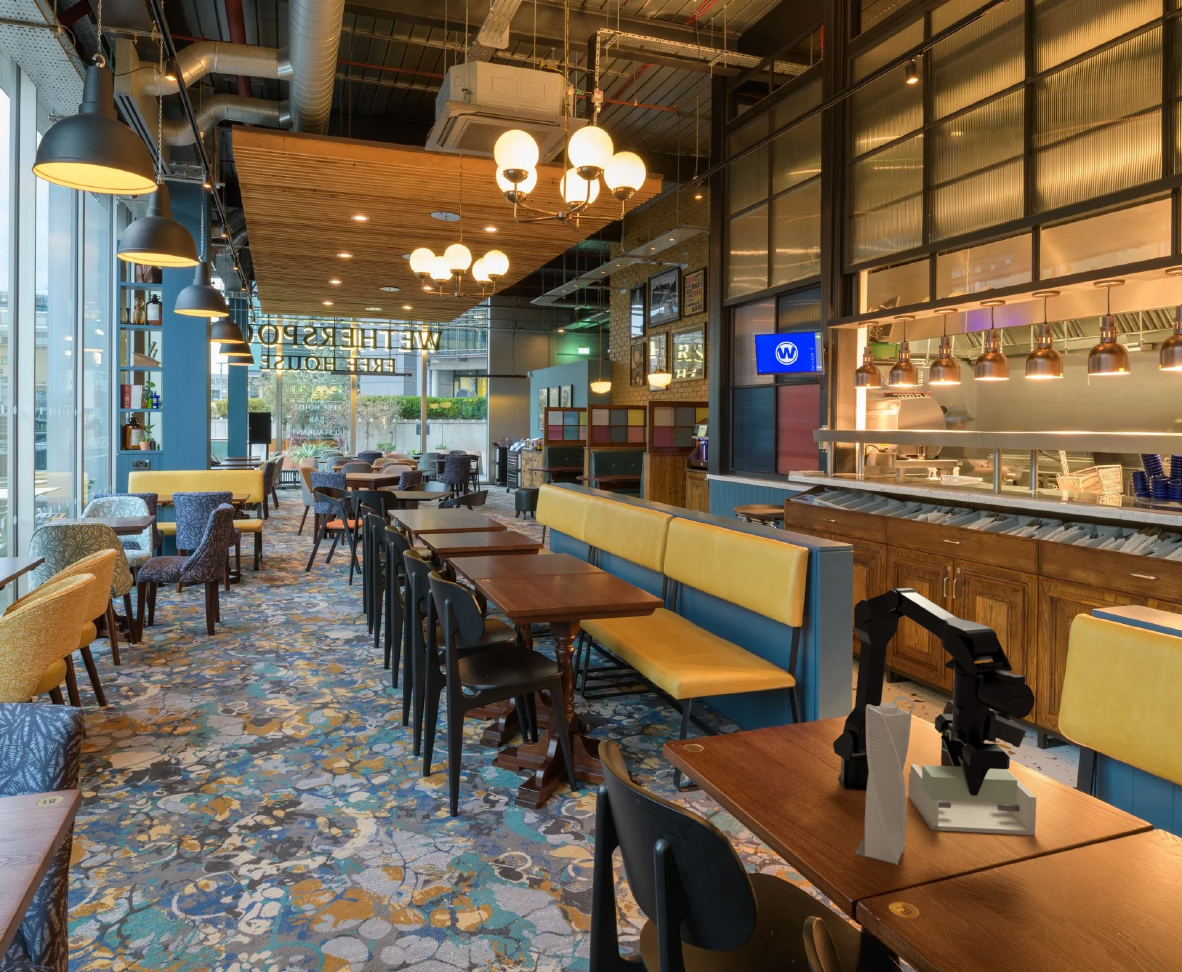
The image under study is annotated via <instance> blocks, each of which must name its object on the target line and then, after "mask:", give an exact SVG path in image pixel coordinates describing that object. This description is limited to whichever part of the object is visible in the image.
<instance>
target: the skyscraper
mask: <svg viewBox="0 0 1182 972" xmlns="http://www.w3.org/2000/svg"><path fill="white" fill-rule="evenodd" d="M900 700H904V701H907V702H910V704H911V706H910V709H909V712H908V711H906V710H903V709H901V708H899V707H898V704H896V703H897V701H900ZM914 706H915V703H914V701H913V700H912V699H911V698H908V697H907V696H904V695H903V696H902V695H899V696H897V697H895V699H894V700H893V702H892V703H891V702H881V704H880V706H873V705H870V704H867V706H866V748H867V761H868V768H869V775H868V782H867V790H866V792H865V801H864V802H865V810H864V813H865V814H864V819H863V826H864V827H863V829H864V833H863V839H862V840H861V842H860V845H859V846H858V848H857V850H856V851H855V855H856V856H862V857H864V858H868V859H871V860H872V859H873V860H875V861H881V862H884V863H888V864H891V865H895V866H898V865H900V862H901V859H902V858H903V855H904V852H905V849H906V846H905V841H906V829H907V795H906V794H907V793H906V784H905V778H904V777H905V776H904V768H905V764H906V762H907V756H908V751H909V750H908V749H909V744H910V736H911V725H912V714H913V710H914V708H915V707H914Z"/></svg>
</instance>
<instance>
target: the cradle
mask: <svg viewBox="0 0 1182 972" xmlns="http://www.w3.org/2000/svg"><path fill="white" fill-rule="evenodd" d="M1006 770H1007V771H1008V772H1009V773H1010V774H1011V775H1012V776H1013V777H1014V778H1015V779H1016V780H1017V802H1016V804H1014V803H993V802H971V801H949V800H931V799H930V797H929V796H928V795H927V793H926V792H925V791H924V790H923V788H922V769H921V768H920V766H919V765H918V763H916V764H915V763H911V764H910V771H909V772H908V795H907V796H908V798H909V800H910V799H911V800H910V801H911V802H912V804H913V805H914V807H915V808H916V810H917V811H918V813H919V814H920V816H921V817H922V818H923V821H925V823H926V825H927V826H928V828H929V829H930V830H931V831H944V832H945V831H947V832H948V831H949V832H965V833H967V832H968V833H983V834H984V833H986V834H1006V835H1022V836H1023V835H1027V836H1036V820H1037V817H1036V816H1037V796H1035V795H1034V794H1033V793H1032V792H1031V791H1030V790H1029V789H1028V787H1026V786H1025V785H1024V784H1023V783H1022V781H1020V780H1019V779H1018V778H1017V777H1016V776H1015V775H1014V774H1012V772H1011V771H1009V769H1006Z"/></svg>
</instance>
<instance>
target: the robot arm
mask: <svg viewBox="0 0 1182 972" xmlns="http://www.w3.org/2000/svg"><path fill="white" fill-rule="evenodd" d="M903 617H907V618H908V619H909V620H911V621H913V622H914V623H915V624H917V625H919V626H921V627H922V628H924V630H926V631H927V632H929V633H931V634H932V635H934V636H936V638H938V639H939V640H940V643H941V645H942V648H943V649H944V650H945V651H946V652H947V653H948V654H949V655H950V656H951V657H952V658H951V659H950V660H949V661H947V662H945V663H944V667H945V668H947V669H950V670H952V671H954V673H953V686H954V694H953V701H951V700H950V699H949V700H948V701H949V706H950V707H951V708H952V709H953V714H943V713H939V714H938V715H937V716H936V717H935V719H934V730H936V731H937V732H938V733H939V734H942V733H943V732H944V729H946V736H942V735H941V736H940V738H941V742H942V741H943V743H944V745H945V748H946V750H947V753H948V755H949V757H950V760H951V762H952V765H953V766H956V767H962V770H963V774H964V777H965V780H966V783H967V787H968V790H969V793H970V795H972V796H977V795H978V793H979V790H980V788H981V785H982V783H983V781H984V778H985V776H986V774H987V772H988V770H989V769H1007V770H1009V769H1010V763H1011V762H1010V761H1011V759H1010V756H1009V755H1008V754H1007V753H1006V752H1005V750H1003V749H1002V748H1001V747H1000V746H999V745H998V744H997V743H992V742H997V739H998V740H1001V741H1003V742H1006V743H1008V744H1011V745H1012V746H1013V747H1016V748H1020V746H1021V745H1022V742H1023V739H1024V738H1025V736H1026V732H1027V730H1026V729H1025V728H1024V727H1023V726H1021V725H1020V724H1019V723H1018V722H1016V721H1014V720H1013V719H1016V720H1022V719H1025V718H1026V717H1027V716H1029V715H1030V714H1031V712H1032V711H1033V709H1034V705H1035V695H1034V693H1033V690H1032V688H1031V687H1030V686H1029V685H1027V684H1026V677H1025V676H1024V675H1021V674H1014V673H1012V671H1013V668H1012V665H1011V664H1010V662H1009V659H1008V657H1007V656H1006V652H1005V651H1004V648H1003V646H1002V645H1001V642H1000V640H999V639H998V635H997V632H996V631H995V630H994V629H993V628H991V627H989V626H986V625H984V624H982V623H979V622H976V621H971V620H966V619H962V618H959V617H957V616H955V615H954V614H951V613H950V612H948V611H947V610H945V609H944V608H942V607H940V606H939V605H937V604H935V603H934V602H932V601H931V600H929V599H928V598H926V597H924V596H922V595H921V594H919V592H918V591H917V590H916V589H914V588H911V587H898V588H892V589H890V590H888V591H886V592H884V593H882V594H880V595H877V596H874V597H872V598H868V599H861V600H859V601H858V602H856V603H855V606H854V610H853V621H854V622H853V623H854V624H853V627H854V629H855V632H856V633H857V635H858V637H859V638H860V650H859V659H858V660H859V661H858V670H857V682H856V691H855V702H854V707H853V709H852V711H851V712H850V713H849V714H848V716H847V718H846V719H845V722H844V726H843V730H842V734H840V736H838V737H837V738H836V739H835V740H834V741H833V743H832V747H833V752H834V754H836V756H839V757H840V774H838V779H839V780H840V783H841V785H842V786H843V788H844V789H846V790H858V791H861V790H862V791H867V782H868V775H869V768H868V761H867V748H866V706H867V704H870V705H873V706H880V704H881V703H882V699H883V689H884V679H885V668H886V659H887V651H888V650H887V649H888V644H889V642H890V641H892V638H893V637H894V636H895V635H896V633H897V631H898V626H899V624H900V623H899V622H900V619H902V618H903ZM983 661H984V662H983ZM977 662H978V663H977ZM1010 718H1012V719H1010ZM986 741H987V742H986ZM988 742H991V743H988Z"/></svg>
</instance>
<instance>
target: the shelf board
mask: <svg viewBox="0 0 1182 972" xmlns="http://www.w3.org/2000/svg"><path fill="white" fill-rule="evenodd" d="M921 768H922V769H921V770H922V788H923V790H924V791H925V792H926V793H927V795H928V796H929V797H930V799H931V800H949V801H971V802H993V803H1014V804H1016V802H1017V780H1016V779H1015V778H1014V777H1013V776H1014V775H1013V774H1012V773H1011V772H1010V771H1009V770H1008V769H1007V770H1008V771H1009V772H1010V773H1011V774H1012V775H1013V776H1012V775H1011V774H1010V773H1009V772H1008V771H1007V770H1006V769H989V770H988V772H987V774H986V776H985V778H984V781H983V783H982V785H981V788H980V790H979V793H978V795H977V796H972V795H970V793H969V790H968V787H967V783H966V780H965V777H964V774H963V770H962V767H956V766H941V765H933V764H931V765H930V764H929V765H928V764H922V767H921Z"/></svg>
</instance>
